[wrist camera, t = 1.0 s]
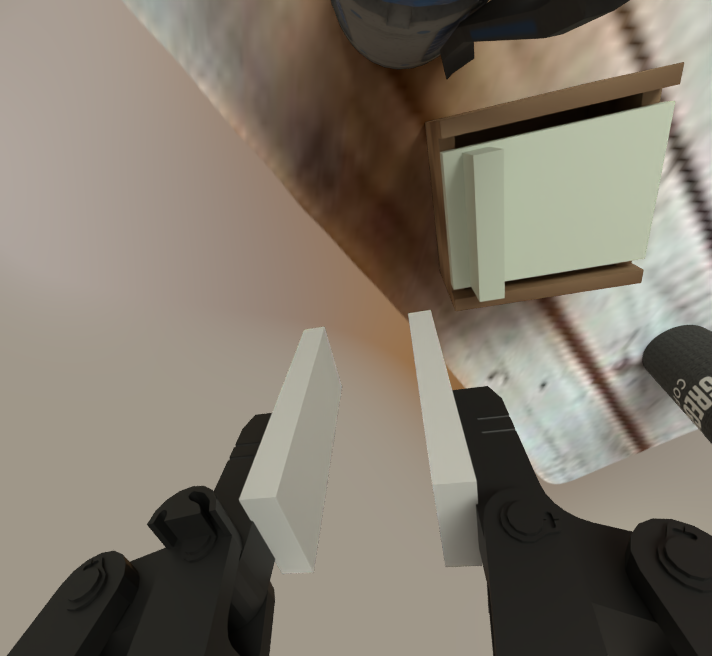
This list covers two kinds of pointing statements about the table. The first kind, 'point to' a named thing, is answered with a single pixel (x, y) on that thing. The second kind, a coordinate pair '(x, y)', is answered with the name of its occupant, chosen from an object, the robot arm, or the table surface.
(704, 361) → the coffee cup
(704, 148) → the table surface
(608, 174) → the lid
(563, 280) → the box
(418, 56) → the beverage bottle
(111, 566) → the robot arm
